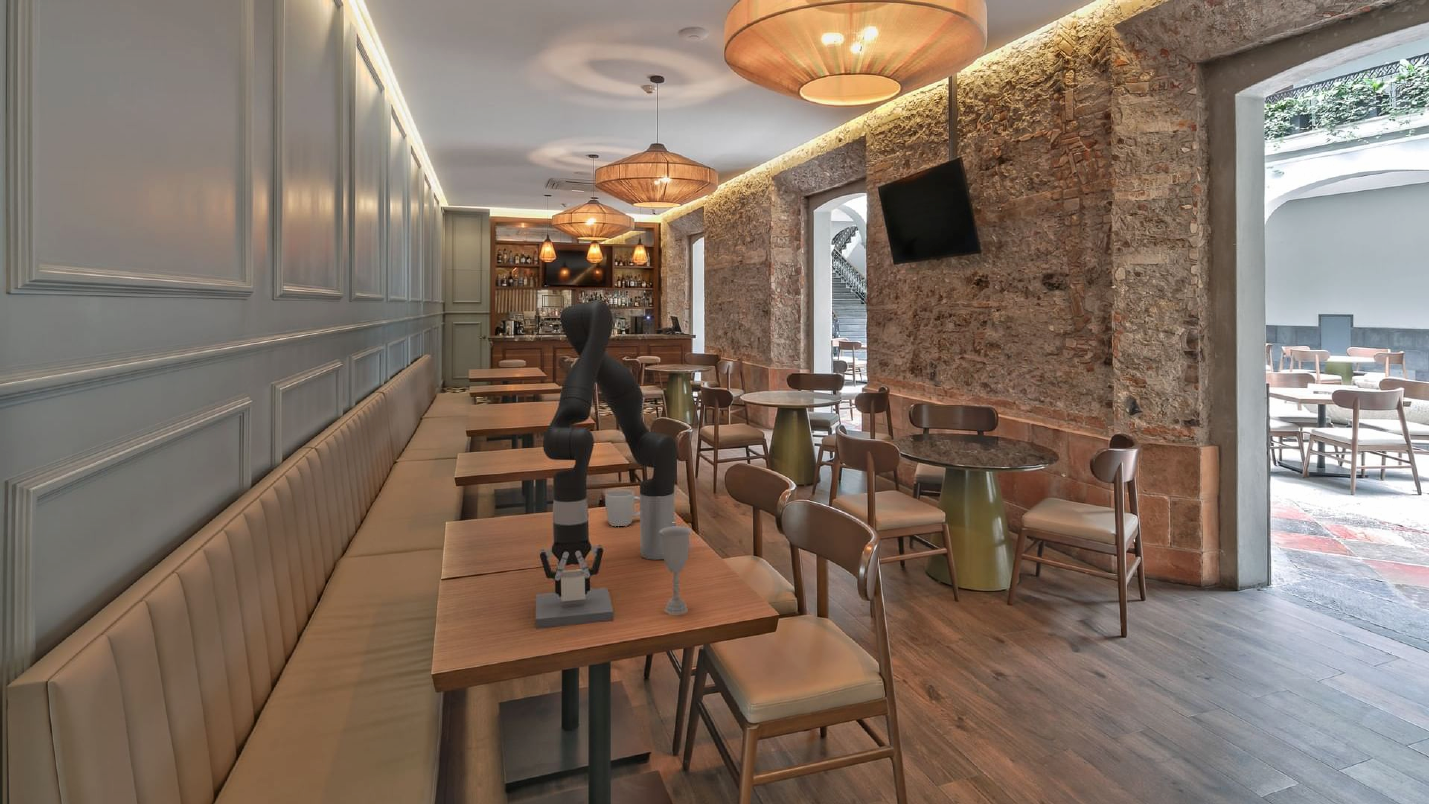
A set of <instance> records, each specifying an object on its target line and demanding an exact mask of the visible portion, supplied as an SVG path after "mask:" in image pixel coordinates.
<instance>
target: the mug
mask: <svg viewBox="0 0 1429 804" xmlns="http://www.w3.org/2000/svg"><path fill="white" fill-rule="evenodd" d="M604 497H605V499H604V501H605V503H604V504H605V512H606V518H607V521H608V523H609V525H610V526H611V527H613V526H615V528H620V527H619V526H625V527H627V526H626V525H629V524H630V525H631V524H632V522H633V519H634V518H636V517H640V509H638V511H637V512H635V500H636V501H638V502H639V503H640V496H635V493H634V491H632V490H629V489H615V490H614V489H613V490H609V491H606V493H605V495H604ZM630 525H629V526H630ZM616 526H618V527H616Z"/></svg>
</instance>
